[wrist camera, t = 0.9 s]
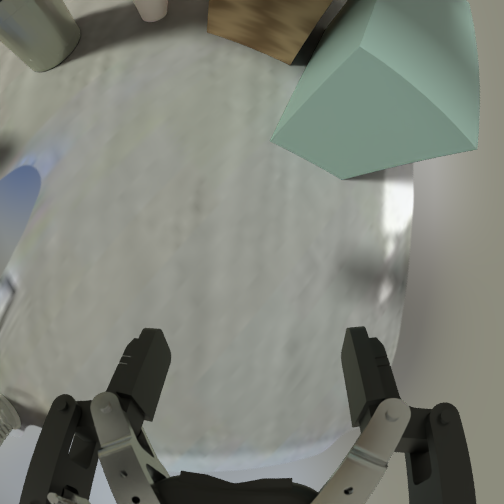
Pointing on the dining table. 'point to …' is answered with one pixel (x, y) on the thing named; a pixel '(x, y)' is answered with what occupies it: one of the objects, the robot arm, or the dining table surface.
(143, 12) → the smoothie
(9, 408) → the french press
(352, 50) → the pale teal block
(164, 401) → the dining table surface
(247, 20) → the tall wooden block
